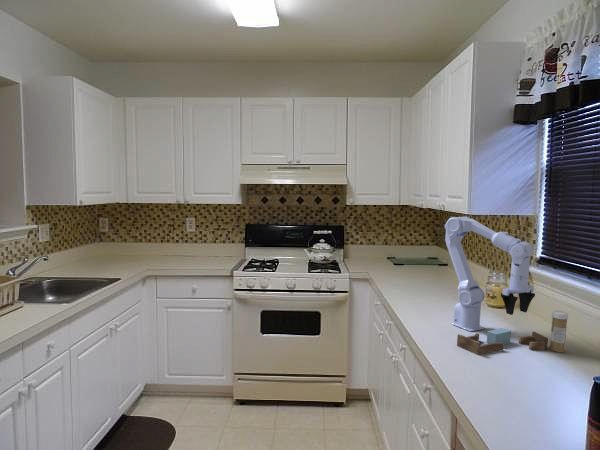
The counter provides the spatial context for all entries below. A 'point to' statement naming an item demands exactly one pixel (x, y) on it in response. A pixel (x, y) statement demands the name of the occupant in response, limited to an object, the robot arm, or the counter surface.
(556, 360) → the counter surface
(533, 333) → the brown stepped block
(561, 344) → the sprinkles bottle
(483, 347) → the endcap rail
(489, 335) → the pale teal block
